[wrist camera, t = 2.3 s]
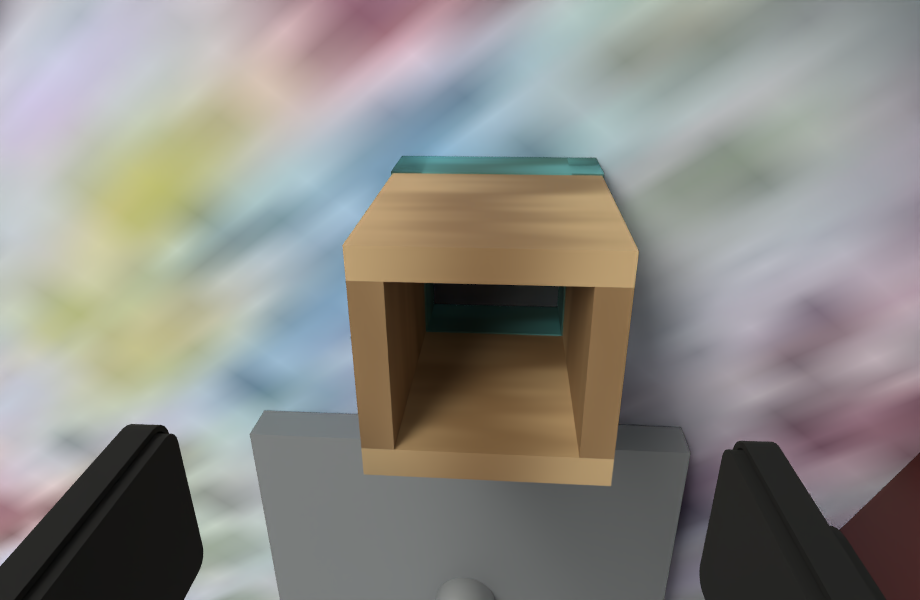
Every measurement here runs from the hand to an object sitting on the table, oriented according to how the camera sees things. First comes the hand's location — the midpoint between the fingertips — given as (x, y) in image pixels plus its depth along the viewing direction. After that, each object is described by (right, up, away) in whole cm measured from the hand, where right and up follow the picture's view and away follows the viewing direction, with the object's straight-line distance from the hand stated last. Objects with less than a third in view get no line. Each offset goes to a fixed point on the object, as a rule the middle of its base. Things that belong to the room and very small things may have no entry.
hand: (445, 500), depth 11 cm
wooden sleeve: (+2, +5, +10) cm, 12 cm away
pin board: (+1, -8, +17) cm, 19 cm away
